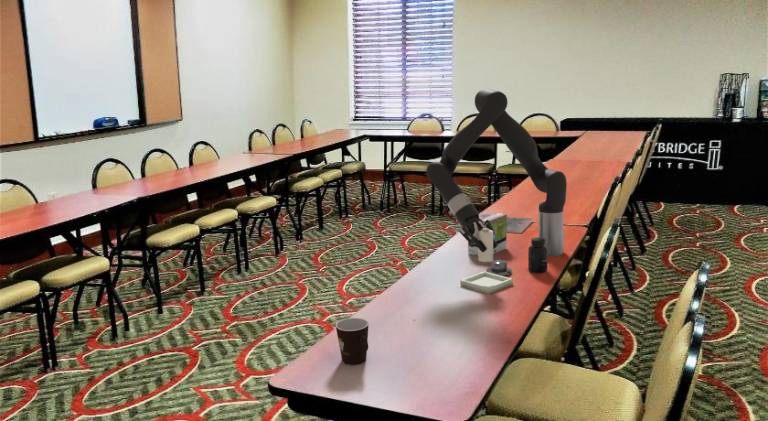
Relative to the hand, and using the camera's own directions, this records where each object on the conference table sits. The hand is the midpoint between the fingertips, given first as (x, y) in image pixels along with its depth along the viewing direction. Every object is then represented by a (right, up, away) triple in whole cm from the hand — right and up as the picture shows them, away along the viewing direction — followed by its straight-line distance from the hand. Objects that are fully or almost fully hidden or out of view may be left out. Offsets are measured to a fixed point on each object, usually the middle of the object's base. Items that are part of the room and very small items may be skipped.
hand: (490, 249), depth 219 cm
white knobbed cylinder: (-1, -4, +2) cm, 5 cm away
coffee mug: (-44, -27, -49) cm, 71 cm away
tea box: (+6, -4, +44) cm, 45 cm away
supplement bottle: (+20, -9, +17) cm, 28 cm away
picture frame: (+22, +5, +82) cm, 85 cm away
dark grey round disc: (+6, -10, +16) cm, 20 cm away
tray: (-1, -13, +4) cm, 13 cm away
